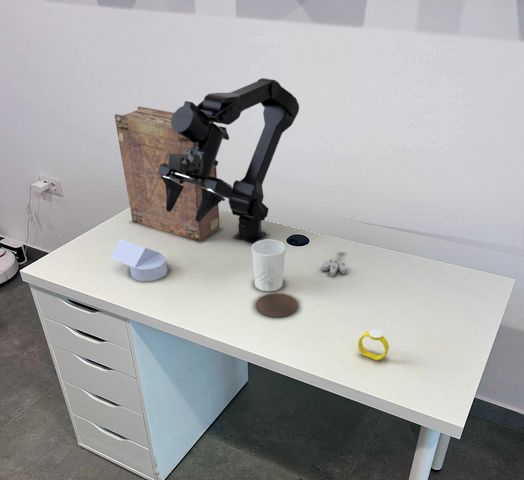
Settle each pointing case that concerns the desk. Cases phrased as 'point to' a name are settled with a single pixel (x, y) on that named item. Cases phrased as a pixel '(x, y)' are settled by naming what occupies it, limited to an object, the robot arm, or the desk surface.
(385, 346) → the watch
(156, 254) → the wedge on round base
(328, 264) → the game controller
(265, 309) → the coaster
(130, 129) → the book
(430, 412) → the desk surface
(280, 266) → the white cup
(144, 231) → the desk surface
